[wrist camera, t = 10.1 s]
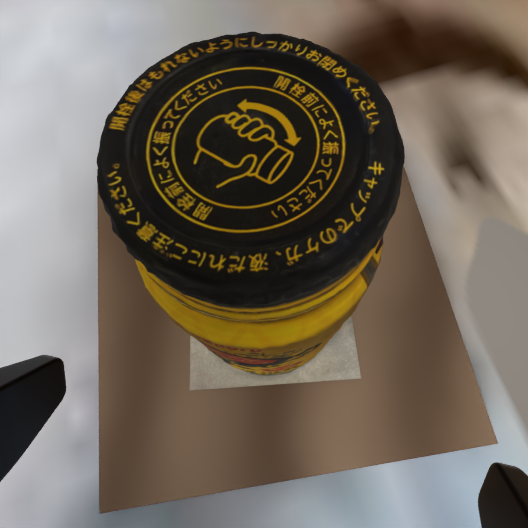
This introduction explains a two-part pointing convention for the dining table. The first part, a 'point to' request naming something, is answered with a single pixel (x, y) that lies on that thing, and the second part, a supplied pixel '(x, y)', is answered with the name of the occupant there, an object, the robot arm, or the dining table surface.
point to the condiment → (255, 202)
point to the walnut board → (281, 387)
